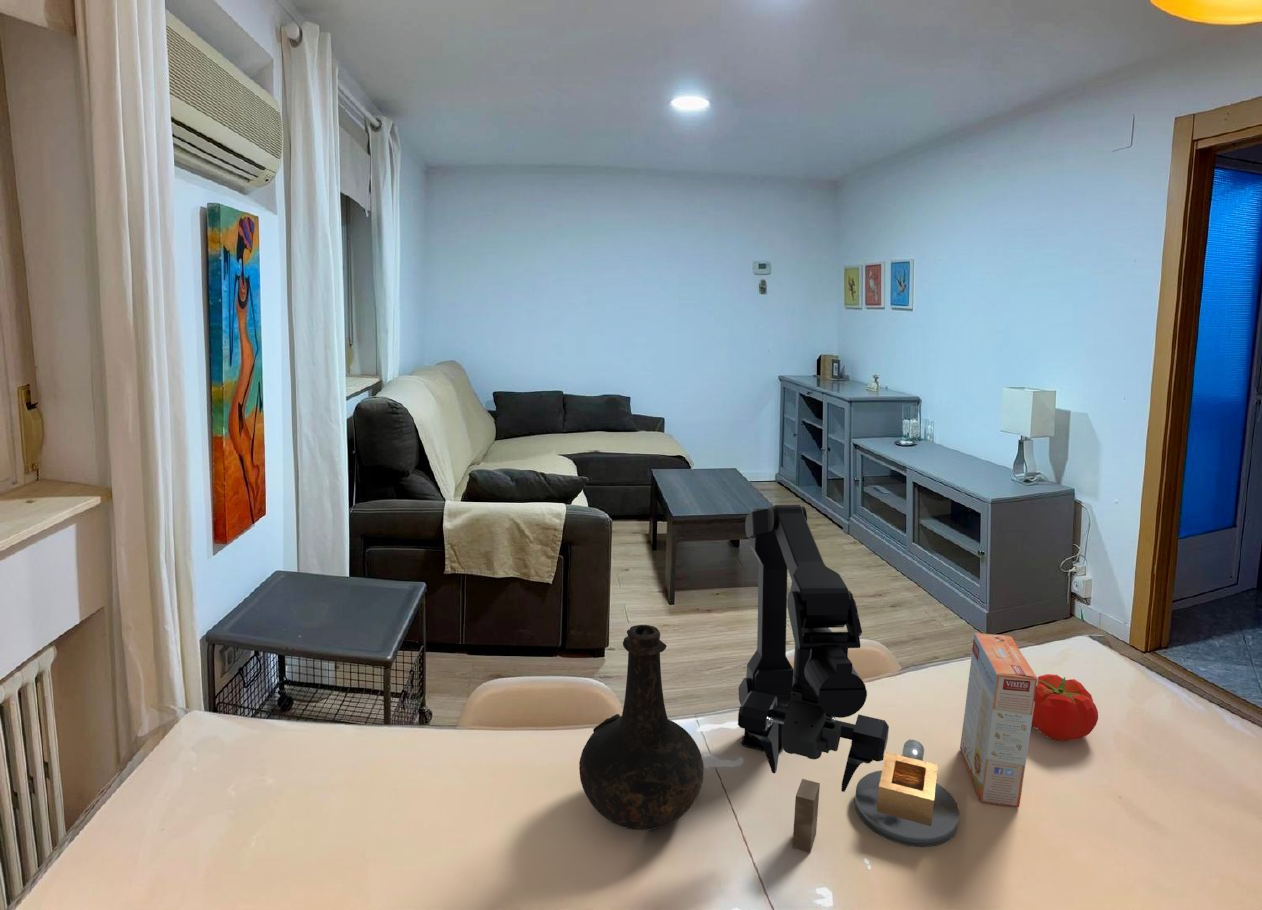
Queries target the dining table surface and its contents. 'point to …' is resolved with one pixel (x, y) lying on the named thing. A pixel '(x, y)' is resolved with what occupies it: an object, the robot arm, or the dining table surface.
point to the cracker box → (998, 718)
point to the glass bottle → (641, 749)
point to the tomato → (1063, 709)
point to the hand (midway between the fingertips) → (808, 780)
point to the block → (806, 815)
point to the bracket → (907, 800)
